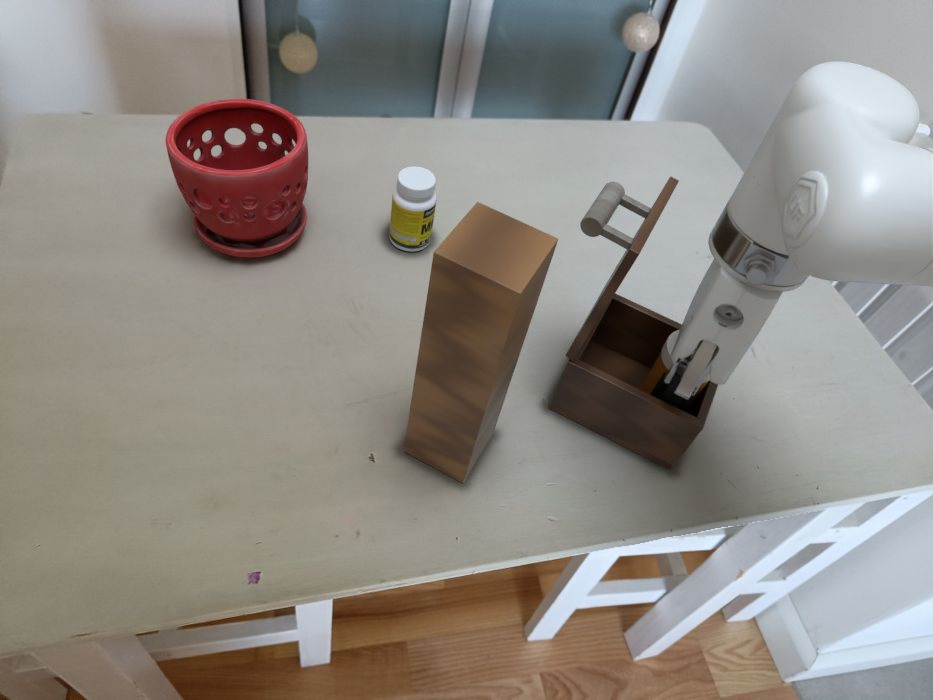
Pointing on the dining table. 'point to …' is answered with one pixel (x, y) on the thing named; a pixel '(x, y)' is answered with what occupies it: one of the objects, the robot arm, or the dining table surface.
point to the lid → (597, 225)
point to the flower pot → (242, 175)
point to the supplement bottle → (413, 209)
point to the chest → (628, 385)
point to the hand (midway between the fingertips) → (672, 385)
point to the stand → (473, 335)
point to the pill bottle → (667, 368)
